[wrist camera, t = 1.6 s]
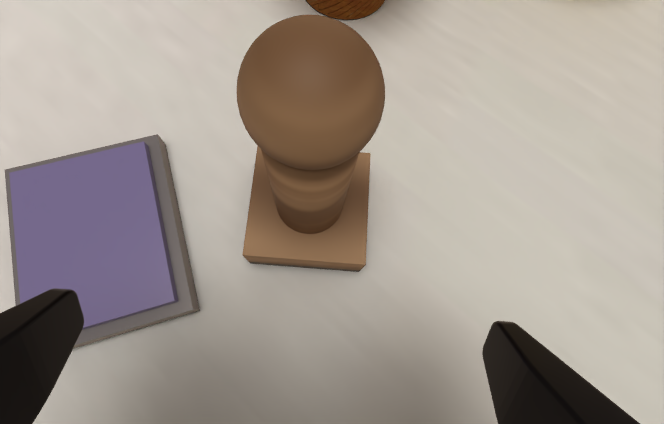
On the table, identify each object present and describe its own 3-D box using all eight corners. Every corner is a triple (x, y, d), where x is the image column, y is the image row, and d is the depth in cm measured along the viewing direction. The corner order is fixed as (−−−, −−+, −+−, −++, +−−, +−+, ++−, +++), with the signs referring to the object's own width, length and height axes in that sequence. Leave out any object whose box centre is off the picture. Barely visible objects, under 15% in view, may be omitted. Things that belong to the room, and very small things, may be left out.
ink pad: (199, 310, 20) (189, 309, 18) (37, 359, 19) (10, 362, 17) (165, 144, 22) (153, 129, 21) (20, 178, 21) (-5, 165, 20)
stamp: (358, 271, 21) (446, 181, 8) (250, 263, 21) (148, 155, 8) (363, 172, 23) (441, -42, 9) (263, 163, 23) (200, -69, 9)
